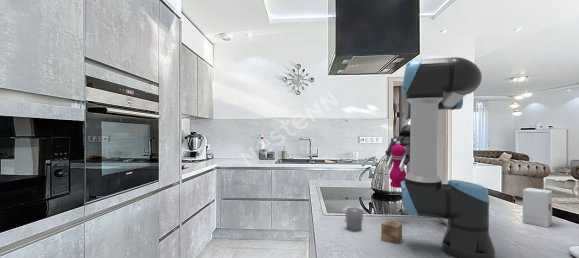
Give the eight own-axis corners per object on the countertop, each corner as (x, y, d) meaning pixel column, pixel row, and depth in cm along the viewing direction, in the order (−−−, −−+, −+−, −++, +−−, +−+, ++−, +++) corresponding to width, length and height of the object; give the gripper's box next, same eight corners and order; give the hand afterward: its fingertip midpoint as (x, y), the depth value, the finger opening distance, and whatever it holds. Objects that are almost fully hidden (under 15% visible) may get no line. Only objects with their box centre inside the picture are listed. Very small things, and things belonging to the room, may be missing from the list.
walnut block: (402, 239, 109) (402, 223, 109) (398, 244, 104) (398, 227, 104) (385, 235, 112) (385, 220, 112) (381, 240, 107) (381, 224, 107)
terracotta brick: (363, 220, 132) (363, 209, 132) (353, 224, 126) (353, 212, 126) (355, 218, 135) (355, 207, 135) (345, 221, 129) (345, 210, 129)
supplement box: (548, 228, 124) (548, 192, 124) (522, 222, 131) (522, 189, 131) (552, 223, 130) (552, 190, 130) (527, 219, 137) (527, 187, 137)
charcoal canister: (364, 229, 119) (364, 209, 119) (356, 232, 115) (356, 212, 115) (351, 225, 123) (351, 206, 123) (343, 229, 119) (343, 209, 119)
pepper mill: (387, 187, 126) (388, 141, 127) (390, 184, 133) (391, 140, 133) (405, 188, 123) (406, 141, 123) (407, 186, 129) (407, 141, 130)
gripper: (431, 136, 133) (418, 176, 121) (393, 136, 146) (377, 171, 133) (427, 124, 129) (413, 164, 117) (389, 125, 142) (372, 161, 130)
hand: (394, 168), depth 125 cm, fingers closed on pepper mill, 5 cm apart
